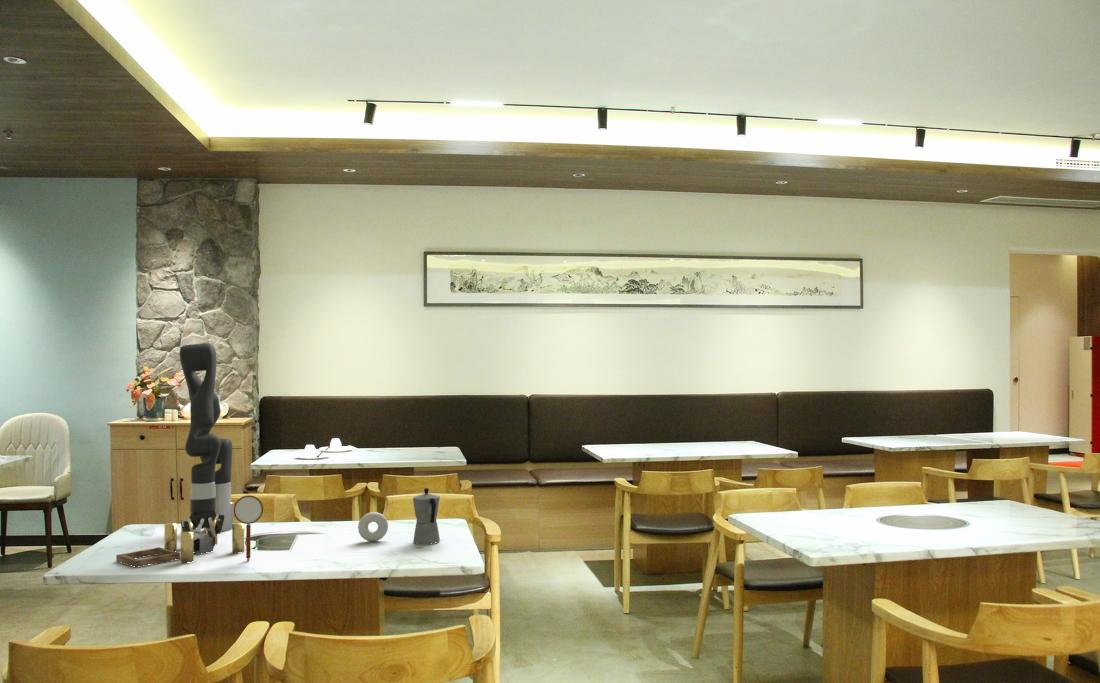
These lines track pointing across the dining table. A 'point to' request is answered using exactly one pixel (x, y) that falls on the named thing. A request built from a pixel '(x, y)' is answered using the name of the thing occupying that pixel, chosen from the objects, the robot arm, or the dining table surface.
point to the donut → (367, 520)
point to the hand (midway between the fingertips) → (202, 549)
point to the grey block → (204, 544)
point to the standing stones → (188, 540)
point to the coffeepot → (426, 518)
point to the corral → (130, 557)
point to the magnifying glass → (248, 515)
